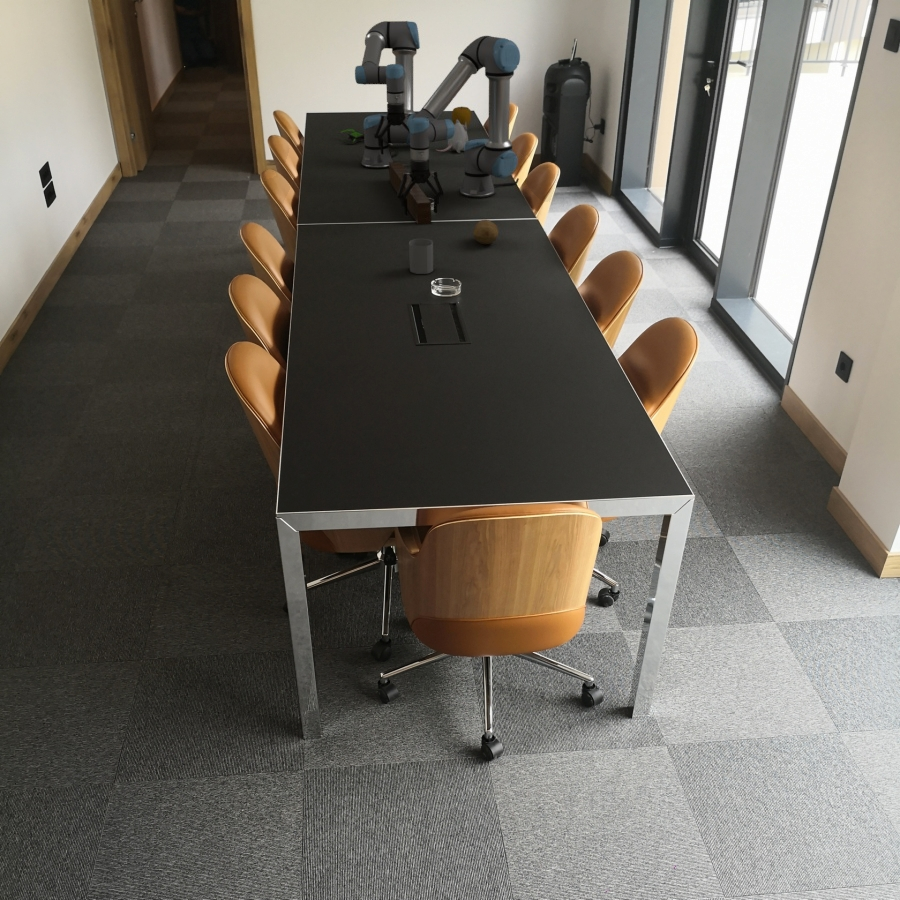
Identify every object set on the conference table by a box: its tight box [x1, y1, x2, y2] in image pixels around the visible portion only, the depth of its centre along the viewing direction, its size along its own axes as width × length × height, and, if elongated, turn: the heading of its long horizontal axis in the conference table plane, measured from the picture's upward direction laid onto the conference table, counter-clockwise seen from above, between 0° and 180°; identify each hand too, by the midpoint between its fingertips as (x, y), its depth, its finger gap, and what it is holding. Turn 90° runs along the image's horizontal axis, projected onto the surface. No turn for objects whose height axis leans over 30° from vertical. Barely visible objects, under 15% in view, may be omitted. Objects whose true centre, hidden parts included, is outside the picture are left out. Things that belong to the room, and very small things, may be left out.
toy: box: [436, 120, 469, 154], centre depth 444 cm, size 9×24×15 cm, turn 137°
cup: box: [408, 237, 434, 275], centre depth 305 cm, size 8×8×10 cm
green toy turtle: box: [338, 128, 364, 145], centre depth 467 cm, size 6×13×30 cm
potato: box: [472, 219, 499, 245], centre depth 330 cm, size 10×14×8 cm
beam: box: [388, 161, 432, 225], centre depth 376 cm, size 65×6×9 cm, turn 14°
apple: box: [451, 105, 472, 129], centre depth 487 cm, size 11×11×13 cm
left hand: (397, 152), depth 391 cm, fingers open, 13 cm apart
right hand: (420, 213), depth 357 cm, fingers open, 12 cm apart
